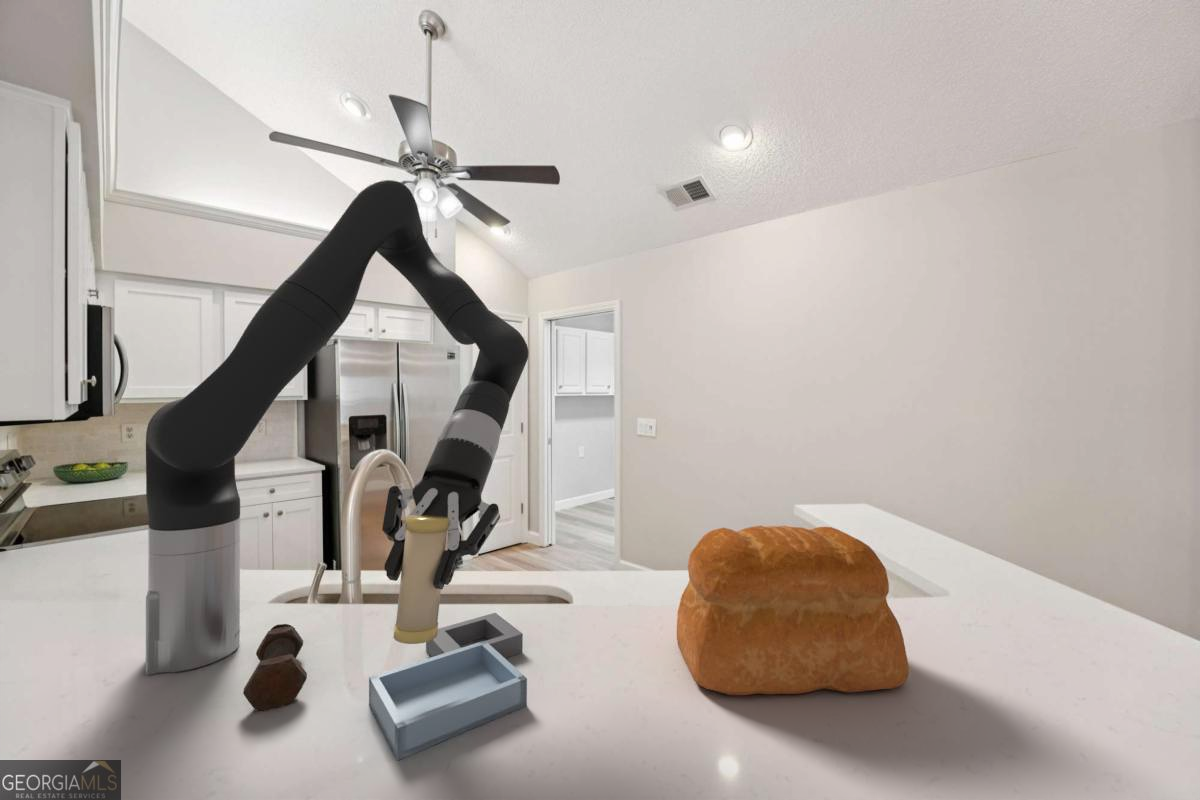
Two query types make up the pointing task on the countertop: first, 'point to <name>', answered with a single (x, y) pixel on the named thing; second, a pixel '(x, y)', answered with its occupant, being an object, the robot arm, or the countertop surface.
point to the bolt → (276, 670)
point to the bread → (788, 613)
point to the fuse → (420, 579)
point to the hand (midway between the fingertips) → (414, 581)
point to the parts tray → (444, 696)
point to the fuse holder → (478, 636)
